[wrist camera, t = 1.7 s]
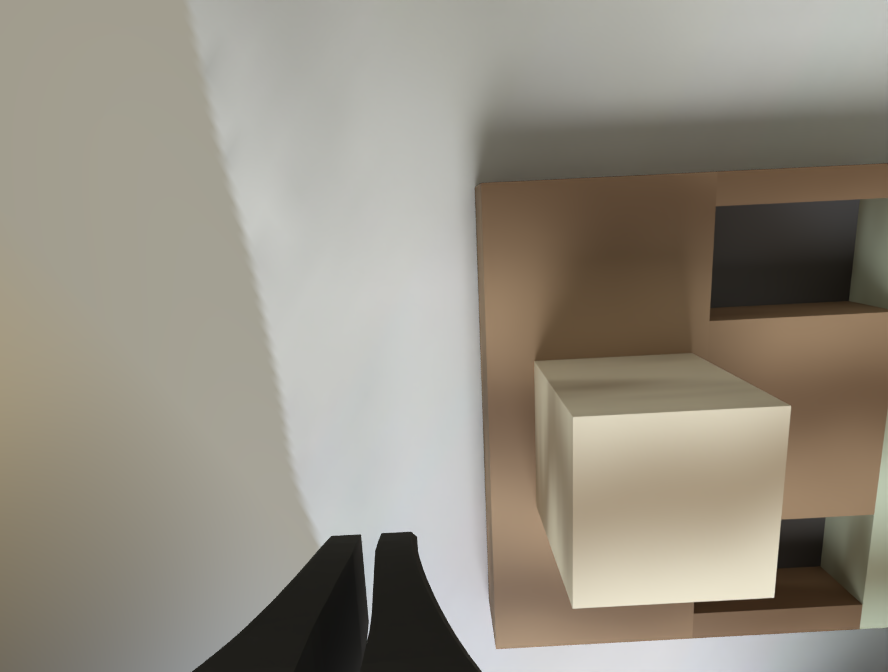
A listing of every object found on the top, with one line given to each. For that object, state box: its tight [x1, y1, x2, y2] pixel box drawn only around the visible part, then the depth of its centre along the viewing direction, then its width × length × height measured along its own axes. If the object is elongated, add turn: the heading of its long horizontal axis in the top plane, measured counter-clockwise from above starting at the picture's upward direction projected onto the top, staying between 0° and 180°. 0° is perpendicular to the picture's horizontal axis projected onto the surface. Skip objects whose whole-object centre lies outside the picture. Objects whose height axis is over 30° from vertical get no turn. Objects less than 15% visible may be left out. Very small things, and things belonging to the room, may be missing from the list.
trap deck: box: [475, 163, 888, 649], centre depth 19 cm, size 16×20×2 cm
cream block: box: [534, 353, 791, 609], centre depth 16 cm, size 5×5×5 cm
